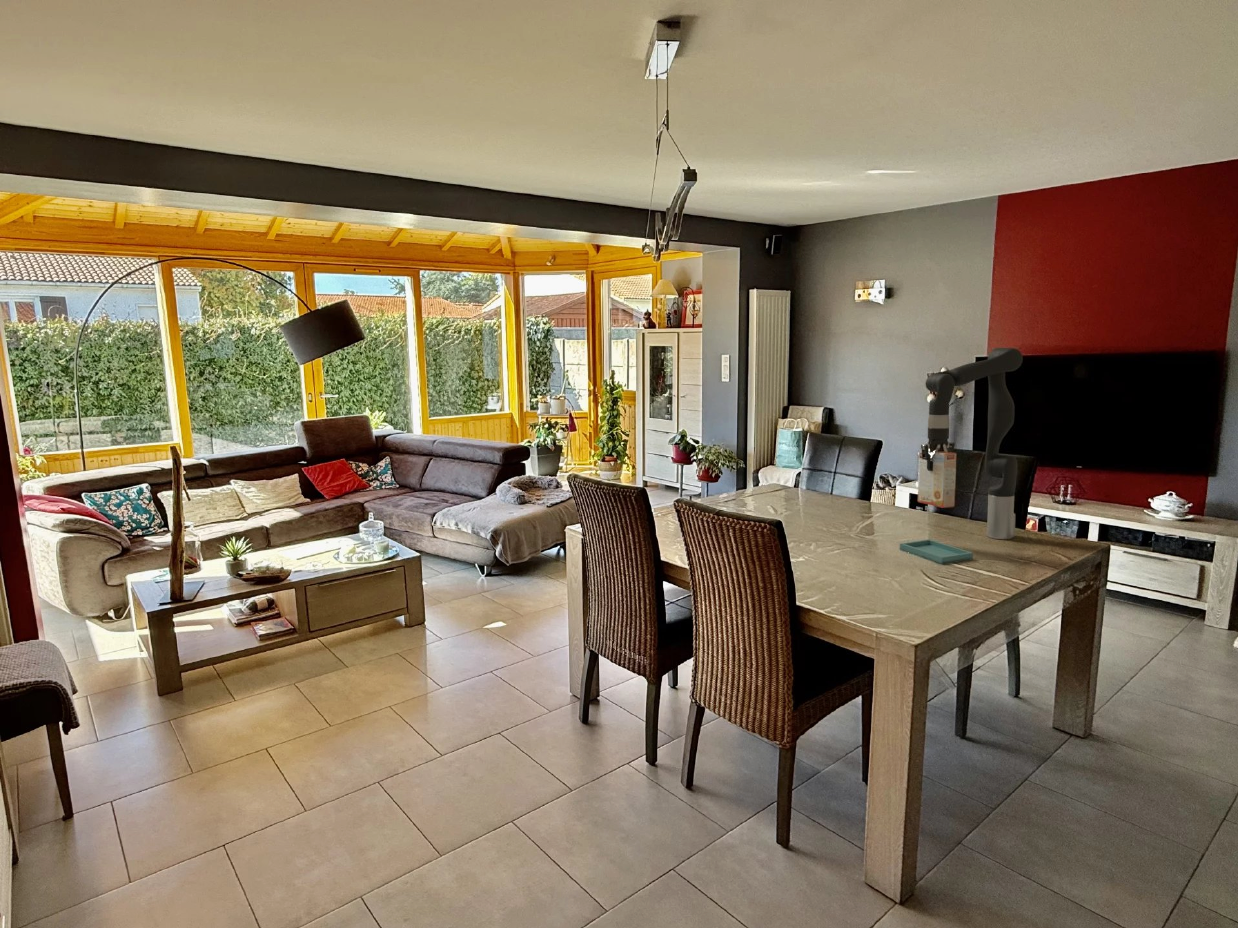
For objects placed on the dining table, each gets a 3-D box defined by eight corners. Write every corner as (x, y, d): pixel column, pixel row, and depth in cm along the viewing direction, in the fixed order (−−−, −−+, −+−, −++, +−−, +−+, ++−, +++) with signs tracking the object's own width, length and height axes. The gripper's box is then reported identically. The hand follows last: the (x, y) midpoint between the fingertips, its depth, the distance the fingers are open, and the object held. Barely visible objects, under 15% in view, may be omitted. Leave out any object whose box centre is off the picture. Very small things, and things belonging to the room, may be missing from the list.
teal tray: (929, 545, 287) (929, 539, 287) (972, 559, 266) (972, 552, 266) (899, 549, 283) (899, 543, 282) (941, 564, 262) (941, 557, 262)
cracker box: (955, 507, 278) (957, 452, 275) (942, 508, 276) (944, 453, 273) (929, 500, 291) (931, 448, 288) (917, 502, 289) (918, 449, 286)
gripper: (946, 424, 285) (945, 467, 287) (916, 426, 281) (914, 470, 283) (961, 426, 278) (959, 470, 280) (930, 428, 274) (928, 472, 276)
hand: (937, 470), depth 282 cm, fingers closed on cracker box, 6 cm apart
